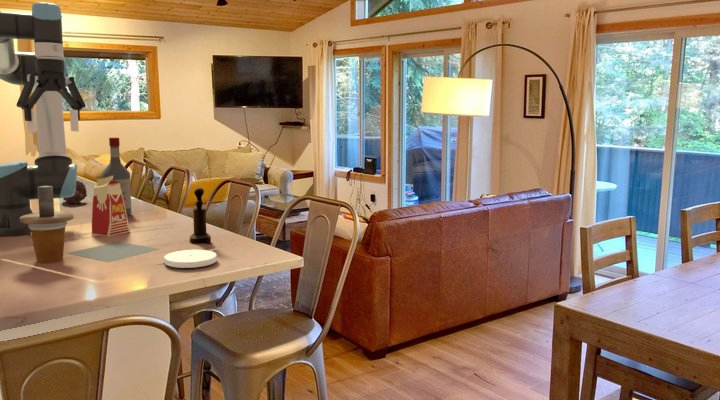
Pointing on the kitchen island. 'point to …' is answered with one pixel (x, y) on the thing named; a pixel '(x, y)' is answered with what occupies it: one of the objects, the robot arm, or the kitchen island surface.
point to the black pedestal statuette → (199, 220)
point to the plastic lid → (190, 258)
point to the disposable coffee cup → (48, 241)
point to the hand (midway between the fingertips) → (54, 132)
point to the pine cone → (77, 193)
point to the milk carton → (108, 209)
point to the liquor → (119, 173)
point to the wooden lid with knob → (46, 210)
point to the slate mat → (112, 251)
